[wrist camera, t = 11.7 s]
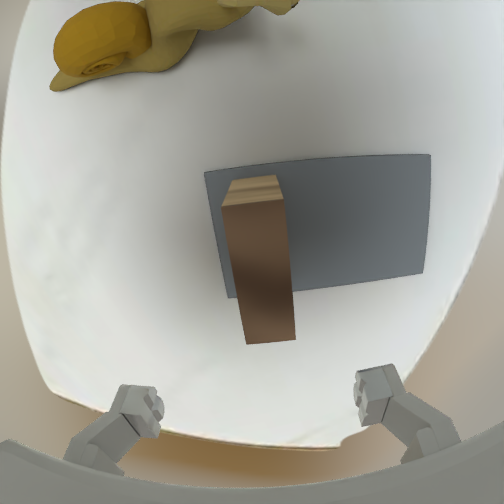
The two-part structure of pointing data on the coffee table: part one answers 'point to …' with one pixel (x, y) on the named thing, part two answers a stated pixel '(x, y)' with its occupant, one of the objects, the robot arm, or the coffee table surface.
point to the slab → (260, 258)
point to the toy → (141, 35)
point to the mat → (341, 217)
